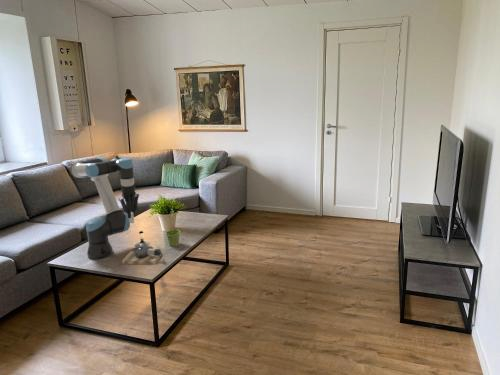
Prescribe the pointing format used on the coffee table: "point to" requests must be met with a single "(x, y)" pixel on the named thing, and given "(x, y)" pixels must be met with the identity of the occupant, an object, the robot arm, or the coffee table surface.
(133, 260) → the wooden cutting board
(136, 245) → the grey joystick
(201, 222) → the coffee table surface
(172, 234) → the plant pot
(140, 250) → the saucepan with lid
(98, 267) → the coffee table surface
